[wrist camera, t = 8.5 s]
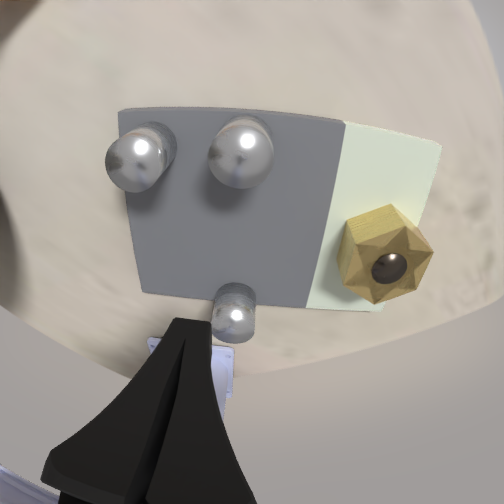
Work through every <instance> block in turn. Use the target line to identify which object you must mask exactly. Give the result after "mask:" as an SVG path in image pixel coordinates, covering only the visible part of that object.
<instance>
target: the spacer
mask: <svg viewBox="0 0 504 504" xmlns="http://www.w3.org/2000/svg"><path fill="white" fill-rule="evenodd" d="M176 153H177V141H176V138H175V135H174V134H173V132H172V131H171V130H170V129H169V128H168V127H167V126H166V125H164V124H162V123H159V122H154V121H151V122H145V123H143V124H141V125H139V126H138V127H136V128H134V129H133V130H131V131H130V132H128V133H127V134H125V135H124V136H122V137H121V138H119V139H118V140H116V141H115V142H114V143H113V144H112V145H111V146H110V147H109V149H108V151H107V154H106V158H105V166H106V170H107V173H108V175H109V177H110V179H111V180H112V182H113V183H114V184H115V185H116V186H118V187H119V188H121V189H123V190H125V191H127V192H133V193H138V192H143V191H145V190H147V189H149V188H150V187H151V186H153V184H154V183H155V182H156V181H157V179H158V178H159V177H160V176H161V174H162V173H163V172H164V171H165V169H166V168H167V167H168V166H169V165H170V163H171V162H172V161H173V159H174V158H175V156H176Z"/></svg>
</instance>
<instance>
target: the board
mask: <svg viewBox="0 0 504 504" xmlns="http://www.w3.org/2000/svg"><path fill="white" fill-rule="evenodd" d="M243 114H248V115H253V116H256V117H258V118H260V119H262V120H263V121H264V122H265V123H266V124H267V125H268V126H269V128H270V130H271V132H272V135H273V151H274V163H273V167H272V170H271V172H270V174H269V175H268V177H267V178H266V179H265V180H264V181H263V182H261V183H260V184H258V185H256V186H254V187H251V188H246V189H237V188H232V187H229V186H227V185H225V184H223V183H221V182H220V181H219V180H218V179H217V178H216V177H215V176H214V175H213V173H212V172H211V170H210V167H209V163H208V152H209V148H210V146H211V144H212V142H213V140H214V139H215V137H216V136H217V134H218V132H219V131H220V129H221V128H222V126H223V125H224V124H225V123H226V122H227V121H228V120H229V119H231V118H232V117H235V116H238V115H243ZM151 121H154V122H159V123H162V124H164V125H166V126H167V127H168V128H169V129H170V130H171V131H172V132H173V134H174V135H175V138H176V141H177V153H176V156H175V158H174V159H173V161H172V162H171V163H170V165H169V166H168V167H167V168H166V169H165V171H164V172H163V173H162V174H161V176H160V177H159V178H158V179H157V181H156V182H155V183H154V184H153V186H151V187H150V188H149V189H147V190H145V191H143V192H138V193H133V192H127V191H125V195H126V203H127V210H128V217H129V223H130V229H131V235H132V241H133V247H134V253H135V258H136V263H137V268H138V273H139V278H140V283H141V288H142V292H146V293H154V294H162V295H170V296H178V297H187V298H196V299H206V300H215V299H216V294H217V291H218V289H219V288H220V287H221V286H223V285H225V284H228V283H242V284H245V285H247V286H249V287H250V288H251V289H252V290H253V291H254V292H255V294H256V304H259V305H272V306H285V307H299V308H315V309H332V310H353V311H378V312H381V311H382V309H383V307H384V305H385V303H386V301H384V302H381V303H378V304H375V305H374V304H372V303H370V302H369V301H367V300H366V299H364V298H362V297H361V296H359V295H358V294H356V293H354V292H353V291H351V290H349V289H348V288H346V287H345V286H343V284H342V280H341V276H340V272H339V268H338V264H337V260H336V258H337V254H338V250H339V247H340V243H341V239H342V235H343V232H344V228H345V224H346V220H347V219H350V218H353V217H355V216H358V215H361V214H363V213H366V212H369V211H372V210H374V209H377V208H380V207H382V206H385V205H388V204H392V205H393V206H394V207H396V208H397V209H398V210H399V211H400V212H401V213H402V214H403V215H404V216H405V217H407V218H408V219H409V220H410V221H411V222H412V223H413V224H414V225H415V226H416V227H417V226H418V223H419V221H420V218H421V215H422V212H423V209H424V206H425V203H426V200H427V197H428V194H429V191H430V188H431V185H432V182H433V179H434V175H435V172H436V168H437V165H438V161H439V158H440V154H441V151H442V146H441V145H439V144H438V143H436V142H434V141H431V140H427V139H424V138H420V137H416V136H412V135H408V134H404V133H400V132H396V131H392V130H387V129H383V128H378V127H373V126H368V125H363V124H358V123H353V122H347V121H342V120H336V119H329V118H323V117H316V116H309V115H301V114H293V113H284V112H274V111H264V110H251V109H236V108H213V107H151V108H130V109H124V110H122V111H120V112H118V123H119V138H121V137H122V136H124V135H125V134H127V133H128V132H130V131H131V130H133V129H134V128H136V127H138V126H139V125H141V124H143V123H145V122H151Z"/></svg>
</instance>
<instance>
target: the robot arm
mask: <svg viewBox="0 0 504 504" xmlns="http://www.w3.org/2000/svg"><path fill="white" fill-rule="evenodd" d="M147 344H148V347H149V350H150V354H151V355H150V356H149V358H148V359H147V361H146V362H145V363H144V365H143V366H142V367H141V369H140V370H139V371H138V372H137V374H136V375H135V376H134V377H133V379H132V380H131V381H130V382H129V384H128V385H127V386H126V387H125V388H124V389H123V390H122V391H121V393H120V394H119V395H118V396H117V397H116V398H115V399H114V400H113V401H112V402H111V403H110V404H109V405H108V406H107V407H106V408H105V409H104V410H103V411H102V412H101V413H100V414H98V415H97V416H96V417H95V418H94V419H93V420H92V421H90V422H89V423H88V424H87V425H86V426H84V427H83V428H82V429H81V430H80V431H78V432H77V433H75V434H74V435H73V436H71V437H70V438H68V439H67V440H66V441H64V442H63V443H61V444H60V445H58V446H57V447H55V448H54V449H52V450H51V451H50V453H49V456H48V458H47V460H46V462H45V465H44V469H43V472H42V475H41V481H42V482H43V483H45V484H47V485H49V486H51V487H53V488H55V489H58V490H60V491H61V492H60V496H58V495H56V494H54V493H52V492H50V491H48V490H45V489H43V488H41V487H39V486H37V485H35V484H34V483H32V482H30V481H28V480H26V479H24V478H22V477H20V476H19V475H17V474H15V473H13V472H12V471H10V470H8V469H7V468H5V467H3V466H2V465H1V464H0V504H257V502H256V500H255V497H254V495H253V493H252V491H251V489H250V487H249V485H248V483H247V481H246V479H245V477H244V475H243V473H242V471H241V468H240V466H239V464H238V461H237V460H236V457H235V454H234V451H233V449H232V446H231V444H230V441H229V439H228V436H227V433H226V430H225V427H224V423H223V419H224V409H225V401H226V398H230V397H232V387H233V364H234V349H233V348H231V347H224V346H214V345H212V324H211V323H210V322H208V321H199V320H191V319H184V318H174V319H173V320H172V322H171V324H170V326H169V327H168V329H167V331H166V333H165V334H164V336H163V337H162V339H160V338H154V337H150V338H148V340H147Z"/></svg>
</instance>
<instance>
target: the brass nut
mask: <svg viewBox="0 0 504 504" xmlns="http://www.w3.org/2000/svg"><path fill="white" fill-rule="evenodd" d="M433 253H434V252H433V250H432V249H431V247H430V245H429V244H428V242H427V241H426V239H425V238H424V236H423V235H422V233H421V232H420V230H419V229H418V228H417V227H416V226H415V225H414V224H413V223H412V222H411V221H410V220H409V219H408V218H407V217H405V216H404V215H403V214H402V213H401V212H400V211H399V210H398V209H397V208H396V207H394V206H393V205H392V204H388V205H385V206H382V207H380V208H377V209H374V210H372V211H369V212H366V213H363V214H361V215H358V216H355V217H353V218H350V219H347V220H346V224H345V228H344V232H343V235H342V239H341V243H340V247H339V250H338V254H337V258H336V260H337V264H338V268H339V272H340V276H341V280H342V284H343V286H345V287H346V288H348V289H349V290H351V291H353V292H354V293H356V294H358V295H359V296H361V297H362V298H364V299H366V300H367V301H369V302H370V303H372V304H374V305H375V304H378V303H381V302H384V301H387V300H390V299H392V298H395V297H398V296H401V295H403V294H406V293H409V292H411V291H414V290H416V289H417V287H418V285H419V283H420V281H421V279H422V277H423V275H424V273H425V270H426V268H427V266H428V264H429V262H430V259H431V257H432V255H433Z"/></svg>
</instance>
